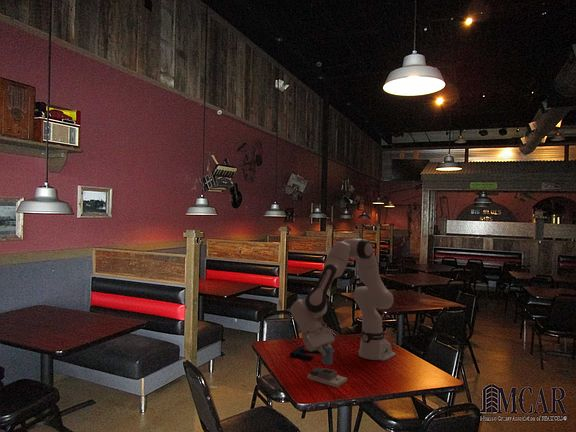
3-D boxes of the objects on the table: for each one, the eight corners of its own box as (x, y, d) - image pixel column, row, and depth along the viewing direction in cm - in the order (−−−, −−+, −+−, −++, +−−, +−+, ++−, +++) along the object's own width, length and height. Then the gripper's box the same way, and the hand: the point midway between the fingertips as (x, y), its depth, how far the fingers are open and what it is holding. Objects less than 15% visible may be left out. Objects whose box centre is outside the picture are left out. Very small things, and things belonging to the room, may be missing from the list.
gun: (324, 352, 239) (300, 348, 245) (324, 347, 240) (300, 343, 245) (313, 362, 217) (287, 358, 222) (313, 357, 217) (287, 353, 222)
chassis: (307, 378, 193) (307, 370, 193) (318, 372, 201) (318, 364, 201) (336, 387, 183) (336, 378, 183) (347, 381, 191) (347, 372, 191)
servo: (320, 362, 193) (320, 344, 193) (323, 360, 195) (324, 343, 196) (330, 365, 189) (331, 347, 189) (334, 363, 192) (334, 345, 192)
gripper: (304, 329, 189) (321, 355, 182) (327, 322, 205) (343, 345, 199) (296, 337, 191) (312, 363, 185) (319, 329, 207) (335, 353, 201)
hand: (328, 354), depth 192 cm, fingers closed on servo, 3 cm apart
